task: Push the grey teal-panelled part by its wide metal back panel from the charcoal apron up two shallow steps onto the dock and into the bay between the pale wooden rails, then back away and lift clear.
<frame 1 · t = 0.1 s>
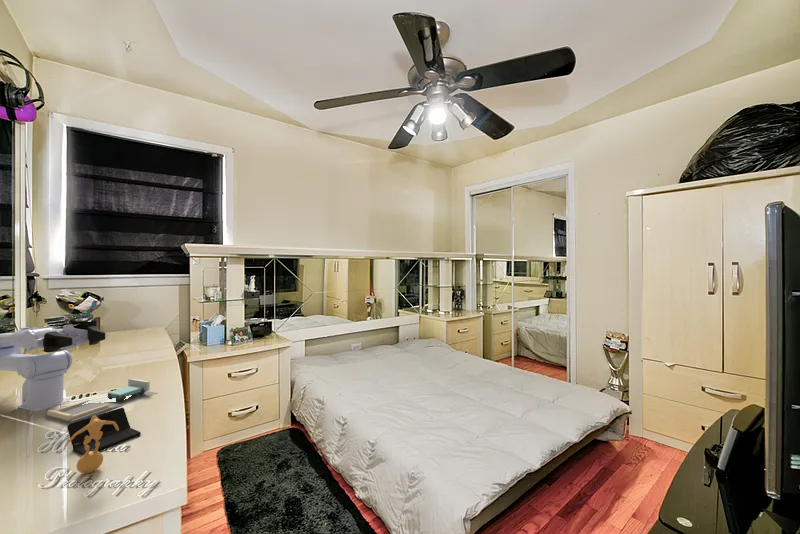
hand: (88, 338, 92), 22 cm above the dresser, tool horizontal, fingers open, 7 cm apart
figurine: (91, 474, 66), on the dresser
dock: (80, 413, 93), on the dresser
handheld gaming console: (105, 442, 79), on the dresser
grey teal-panelled part: (127, 396, 104), resting on dock
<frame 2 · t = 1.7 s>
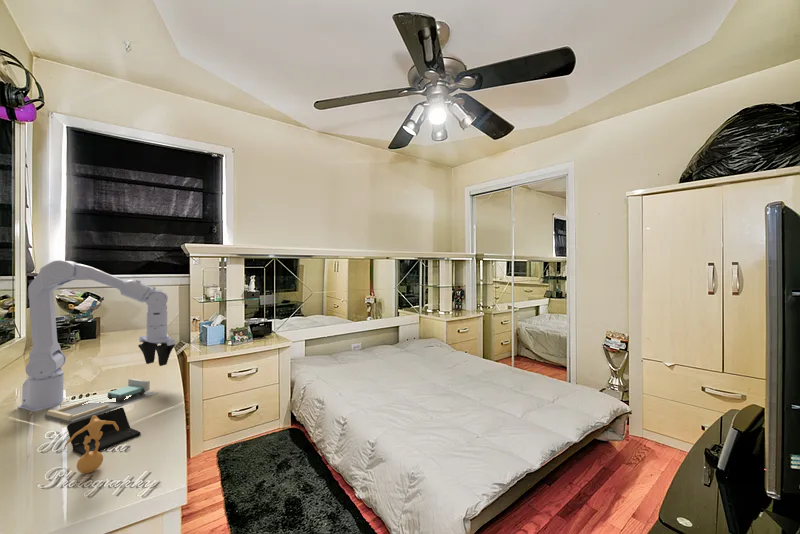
hand: (156, 364, 113), 8 cm above the dresser, tool pointing down, fingers open, 6 cm apart
nothing on the dresser moved.
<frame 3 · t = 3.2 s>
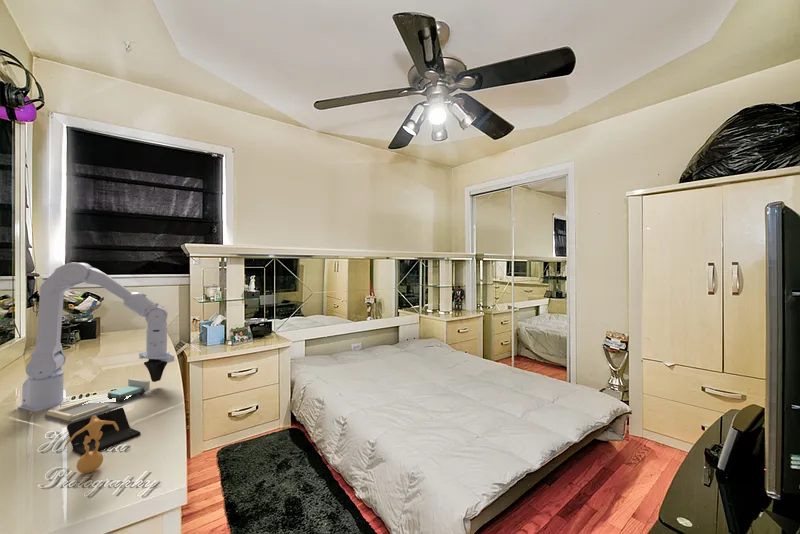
hand: (156, 380, 113), 3 cm above the dresser, tool pointing down, fingers closed
nothing on the dresser moved.
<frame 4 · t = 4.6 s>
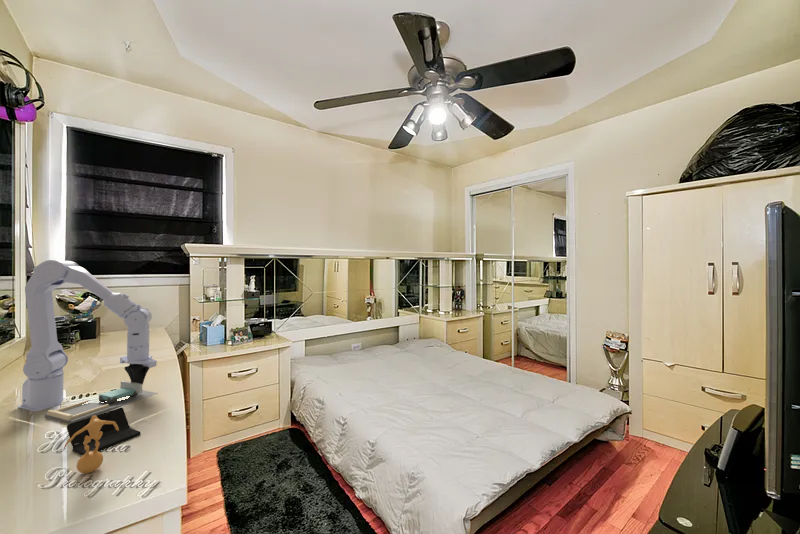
hand: (137, 386, 107), 3 cm above the dresser, tool pointing down, fingers closed, pressing on grey teal-panelled part
grey teal-panelled part: (118, 399, 102), point 1 cm above the dresser, touching dock, gripper
everything else where it was.
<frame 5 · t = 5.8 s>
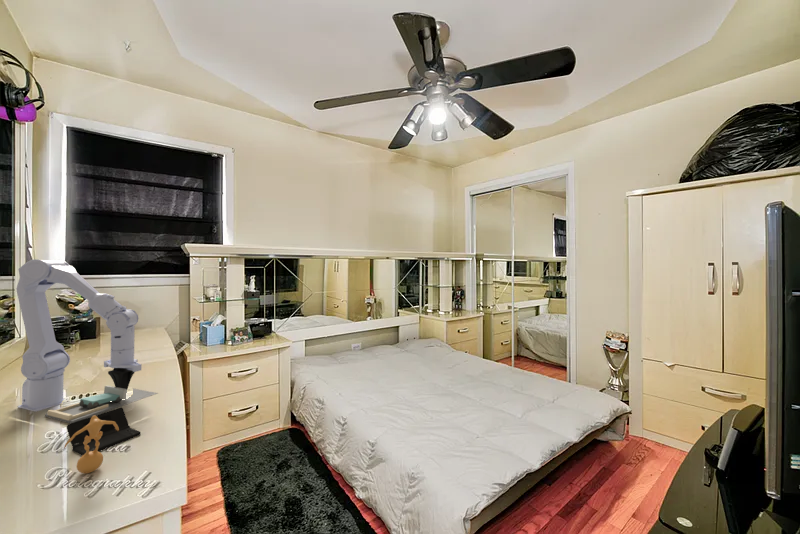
hand: (122, 391, 103), 3 cm above the dresser, tool pointing down, fingers closed, pressing on grey teal-panelled part
grey teal-panelled part: (101, 404, 97), point 1 cm above the dresser, tilted 6°, touching dock, gripper
everything else where it was.
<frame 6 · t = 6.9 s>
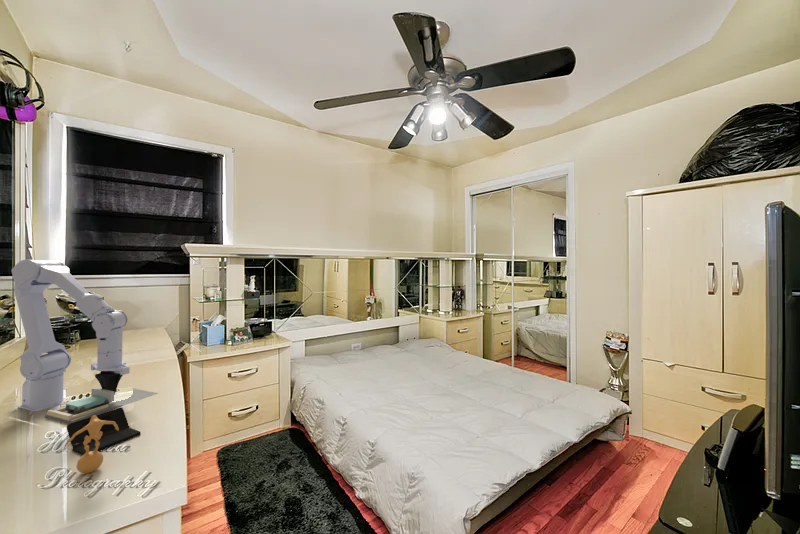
hand: (109, 395, 100), 3 cm above the dresser, tool pointing down, fingers closed, pressing on grey teal-panelled part
grey teal-panelled part: (88, 408, 94), point 1 cm above the dresser, touching dock, gripper
everything else where it was.
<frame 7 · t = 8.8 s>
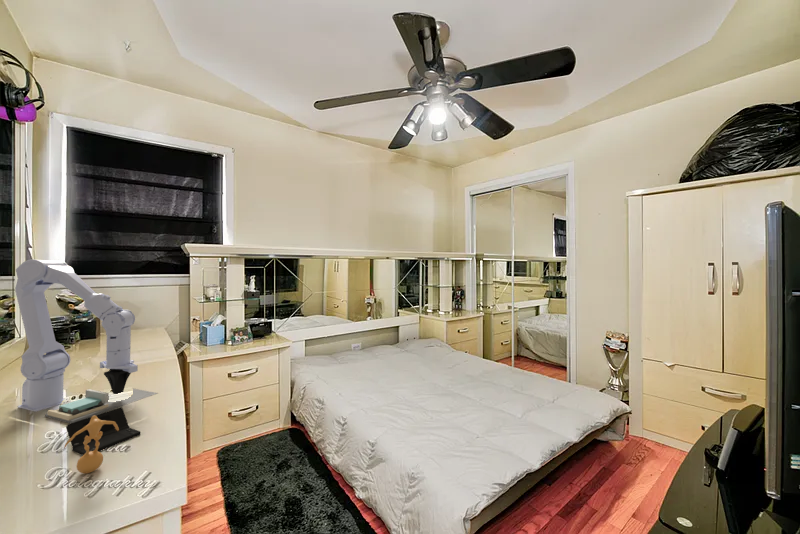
hand: (118, 392, 102), 3 cm above the dresser, tool pointing down, fingers closed
grey teal-panelled part: (82, 410, 93), point 1 cm above the dresser, touching dock
everything else where it was.
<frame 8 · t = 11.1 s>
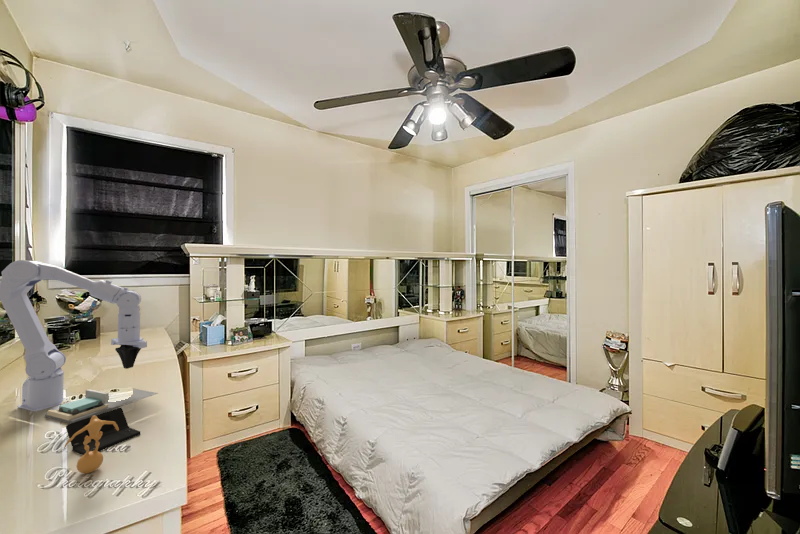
hand: (128, 367, 108), 8 cm above the dresser, tool pointing down, fingers closed
nothing on the dresser moved.
at the end: grey teal-panelled part 0.7 cm from the target spot, point 1.0 cm above the dresser; grey teal-panelled part tilted 0°; grey teal-panelled part moved 11.9 cm from its start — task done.
